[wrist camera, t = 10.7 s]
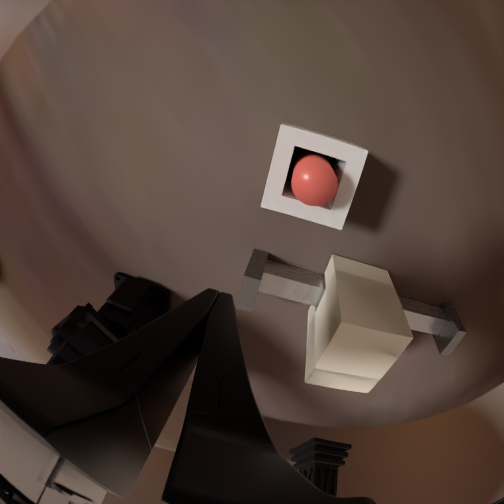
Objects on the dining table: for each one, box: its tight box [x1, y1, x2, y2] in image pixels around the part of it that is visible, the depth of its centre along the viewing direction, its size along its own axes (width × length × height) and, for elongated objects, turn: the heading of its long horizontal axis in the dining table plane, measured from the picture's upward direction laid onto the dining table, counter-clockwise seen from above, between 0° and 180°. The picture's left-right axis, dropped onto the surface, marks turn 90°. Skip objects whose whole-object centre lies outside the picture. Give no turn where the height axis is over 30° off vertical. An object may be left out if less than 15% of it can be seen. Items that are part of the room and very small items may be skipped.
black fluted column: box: [289, 437, 351, 496], centre depth 29 cm, size 8×8×20 cm
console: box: [261, 123, 368, 230], centre depth 16 cm, size 5×5×4 cm
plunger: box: [291, 150, 338, 206], centre depth 16 cm, size 2×2×5 cm
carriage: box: [305, 254, 413, 393], centre depth 19 cm, size 6×5×8 cm
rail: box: [236, 249, 467, 356], centre depth 20 cm, size 3×20×4 cm, turn 78°
